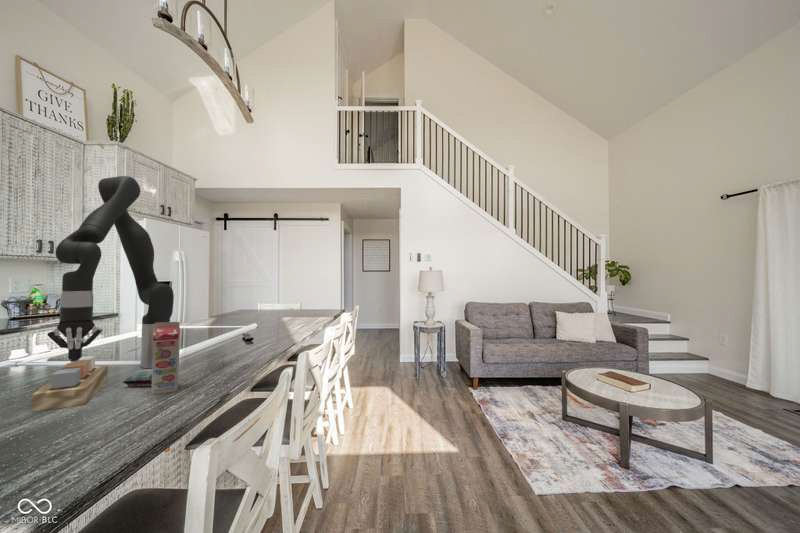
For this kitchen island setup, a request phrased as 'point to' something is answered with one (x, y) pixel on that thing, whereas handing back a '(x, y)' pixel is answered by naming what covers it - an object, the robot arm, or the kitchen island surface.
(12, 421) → the kitchen island surface
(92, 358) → the white square block
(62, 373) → the slate key
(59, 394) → the light brown rectangular frame
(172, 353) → the juice carton
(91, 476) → the kitchen island surface
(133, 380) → the packaged food
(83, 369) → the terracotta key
